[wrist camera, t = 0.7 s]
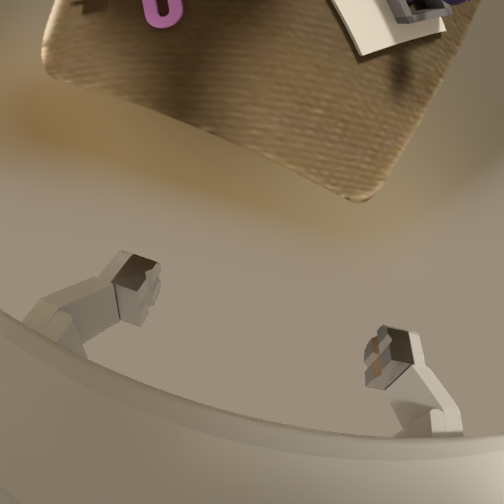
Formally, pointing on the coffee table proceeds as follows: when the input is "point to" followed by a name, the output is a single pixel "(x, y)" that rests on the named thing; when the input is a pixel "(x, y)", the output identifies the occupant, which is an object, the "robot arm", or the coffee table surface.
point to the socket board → (389, 21)
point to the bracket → (166, 21)
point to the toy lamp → (447, 1)
